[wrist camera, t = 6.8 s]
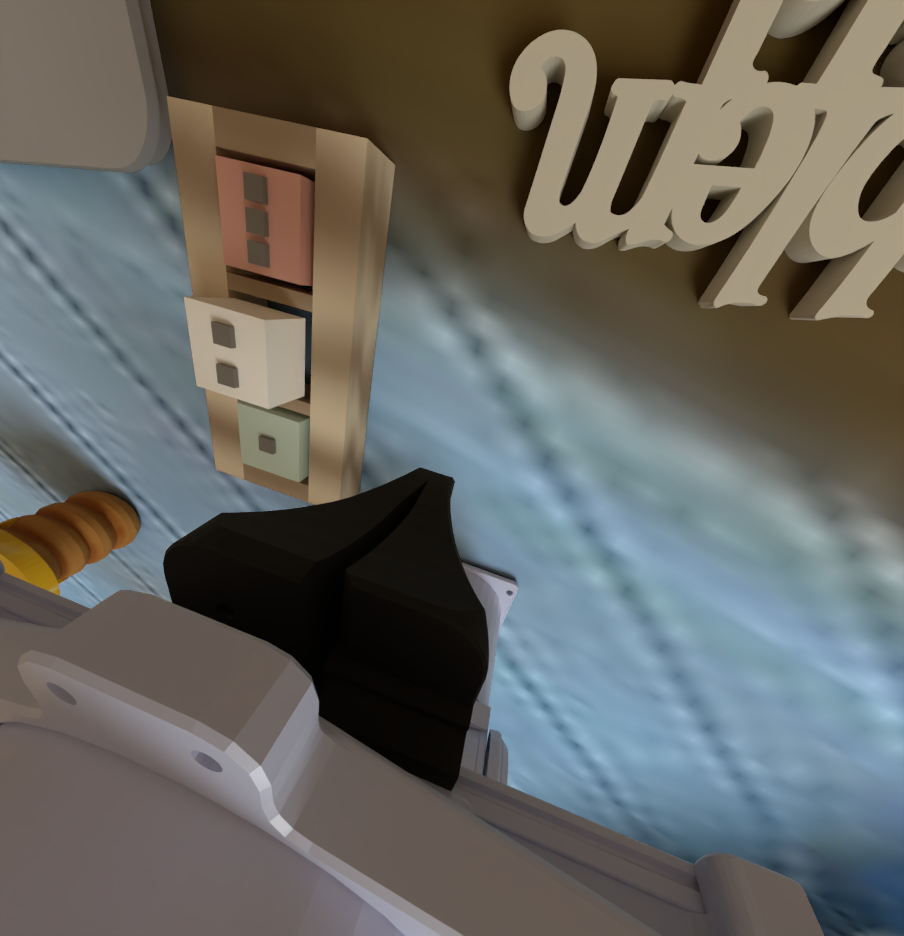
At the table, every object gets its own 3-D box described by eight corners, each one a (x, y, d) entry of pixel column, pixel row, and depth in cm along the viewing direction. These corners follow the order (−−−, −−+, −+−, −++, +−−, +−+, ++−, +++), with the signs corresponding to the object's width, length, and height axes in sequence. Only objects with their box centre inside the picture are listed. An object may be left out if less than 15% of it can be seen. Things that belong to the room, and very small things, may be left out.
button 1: (324, 464, 25) (296, 484, 22) (272, 446, 26) (238, 464, 23) (327, 409, 23) (295, 424, 20) (270, 391, 24) (232, 403, 21)
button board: (359, 492, 26) (338, 512, 23) (247, 453, 27) (216, 469, 25) (395, 165, 17) (367, 138, 14) (222, 127, 18) (166, 95, 15)
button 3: (332, 288, 20) (296, 284, 17) (266, 270, 20) (219, 263, 17) (337, 194, 17) (296, 172, 15) (262, 177, 18) (209, 152, 15)
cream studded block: (304, 395, 20) (264, 410, 17) (240, 376, 21) (191, 387, 18) (305, 318, 18) (260, 320, 15) (234, 298, 19) (177, 296, 16)
